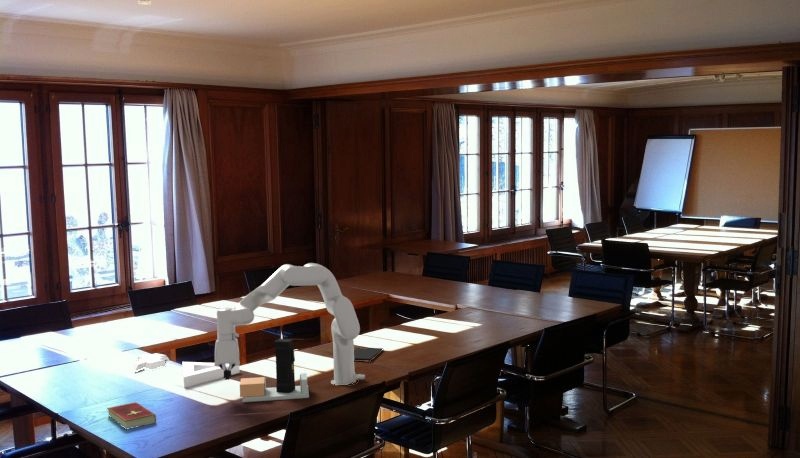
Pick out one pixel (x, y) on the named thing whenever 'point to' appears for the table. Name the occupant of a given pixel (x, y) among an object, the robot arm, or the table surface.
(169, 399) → the table surface
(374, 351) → the external hard drive
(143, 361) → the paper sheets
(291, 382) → the portable radio
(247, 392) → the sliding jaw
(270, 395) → the vise bed
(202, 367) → the triangle block
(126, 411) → the hardcover book
